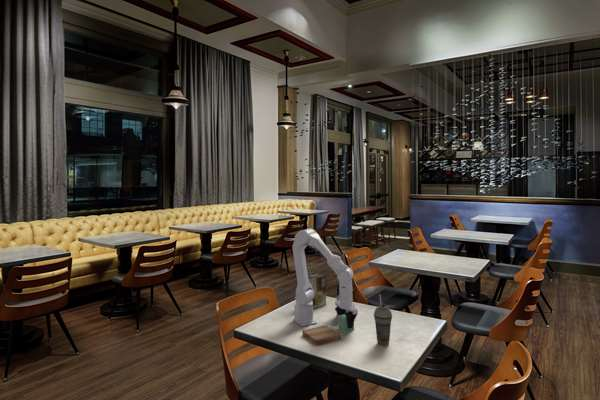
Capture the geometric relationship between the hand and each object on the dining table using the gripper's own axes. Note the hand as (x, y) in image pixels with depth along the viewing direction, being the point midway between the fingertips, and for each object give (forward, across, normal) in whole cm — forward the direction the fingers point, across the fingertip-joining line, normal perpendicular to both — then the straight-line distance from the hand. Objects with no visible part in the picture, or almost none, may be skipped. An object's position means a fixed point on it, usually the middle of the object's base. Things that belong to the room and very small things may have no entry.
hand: (346, 325), depth 162 cm
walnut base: (+2, -2, +14) cm, 14 cm away
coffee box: (+2, +35, -5) cm, 35 cm away
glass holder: (+2, +15, -10) cm, 18 cm away
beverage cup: (+2, -20, -4) cm, 20 cm away
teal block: (+2, 0, 0) cm, 2 cm away
